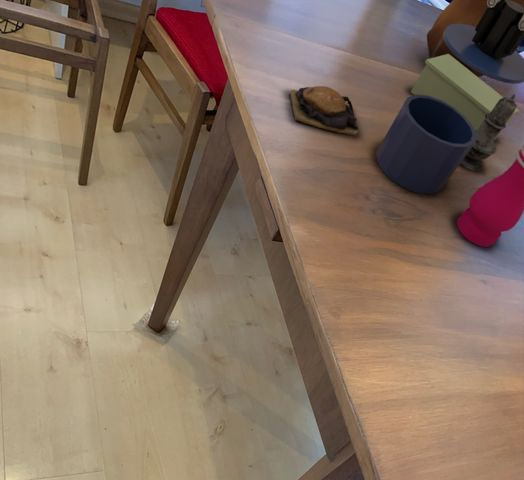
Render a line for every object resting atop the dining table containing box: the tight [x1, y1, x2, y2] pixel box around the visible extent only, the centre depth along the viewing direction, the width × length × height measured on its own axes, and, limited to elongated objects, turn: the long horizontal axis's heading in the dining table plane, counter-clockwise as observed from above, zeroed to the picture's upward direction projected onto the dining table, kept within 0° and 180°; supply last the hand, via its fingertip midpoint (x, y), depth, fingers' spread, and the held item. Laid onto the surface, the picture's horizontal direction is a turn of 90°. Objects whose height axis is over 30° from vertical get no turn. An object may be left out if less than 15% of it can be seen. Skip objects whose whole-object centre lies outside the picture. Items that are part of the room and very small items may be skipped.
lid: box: [443, 0, 524, 85], centre depth 69 cm, size 12×12×7 cm
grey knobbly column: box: [459, 93, 517, 171], centre depth 88 cm, size 6×6×12 cm
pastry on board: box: [289, 85, 359, 136], centre depth 85 cm, size 11×8×4 cm
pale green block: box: [410, 54, 521, 141], centre depth 98 cm, size 17×8×6 cm, turn 44°
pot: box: [375, 94, 477, 195], centre depth 82 cm, size 11×11×8 cm
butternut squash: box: [426, 0, 524, 78], centre depth 100 cm, size 14×13×25 cm
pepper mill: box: [456, 144, 524, 248], centre depth 74 cm, size 7×7×20 cm
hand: (490, 47), depth 71 cm, fingers closed on lid, 2 cm apart
